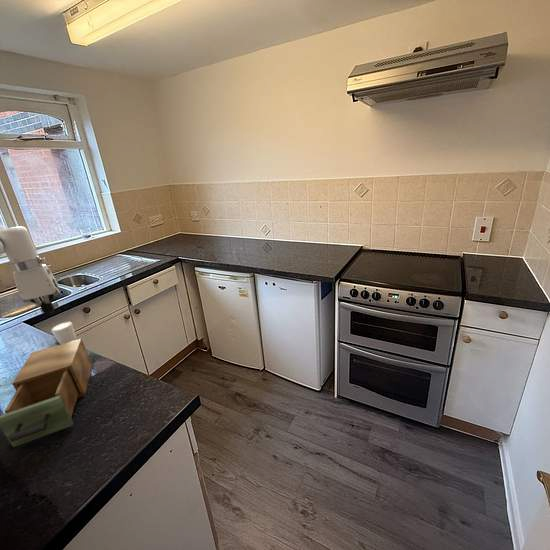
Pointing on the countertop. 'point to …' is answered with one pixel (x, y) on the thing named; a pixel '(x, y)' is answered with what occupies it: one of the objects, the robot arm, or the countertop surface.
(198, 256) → the countertop surface
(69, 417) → the drawer
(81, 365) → the cabinet
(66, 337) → the white short cylinder
